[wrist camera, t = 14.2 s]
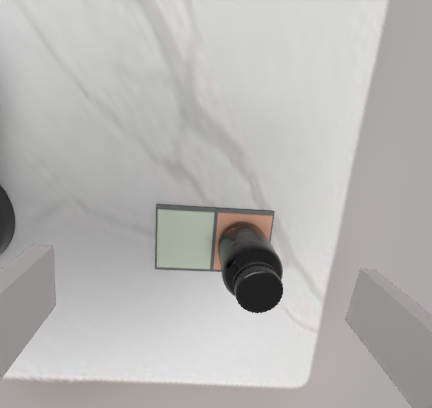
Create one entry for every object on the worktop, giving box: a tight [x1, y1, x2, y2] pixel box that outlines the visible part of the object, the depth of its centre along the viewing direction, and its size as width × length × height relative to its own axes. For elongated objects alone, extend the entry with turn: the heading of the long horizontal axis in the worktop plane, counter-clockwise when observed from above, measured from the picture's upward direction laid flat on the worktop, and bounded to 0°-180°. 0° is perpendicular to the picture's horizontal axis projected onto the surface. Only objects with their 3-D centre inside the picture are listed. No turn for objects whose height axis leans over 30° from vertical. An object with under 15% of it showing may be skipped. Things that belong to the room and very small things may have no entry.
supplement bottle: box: [218, 222, 283, 313], centre depth 33 cm, size 7×7×12 cm
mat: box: [155, 204, 274, 272], centre depth 39 cm, size 16×10×1 cm, turn 86°
